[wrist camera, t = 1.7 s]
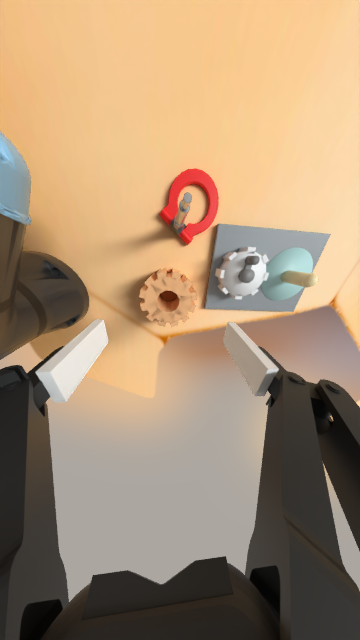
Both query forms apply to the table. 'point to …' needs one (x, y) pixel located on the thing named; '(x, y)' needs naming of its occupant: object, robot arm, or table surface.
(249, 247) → the gear board
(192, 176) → the tow hook
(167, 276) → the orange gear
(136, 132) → the table surface
